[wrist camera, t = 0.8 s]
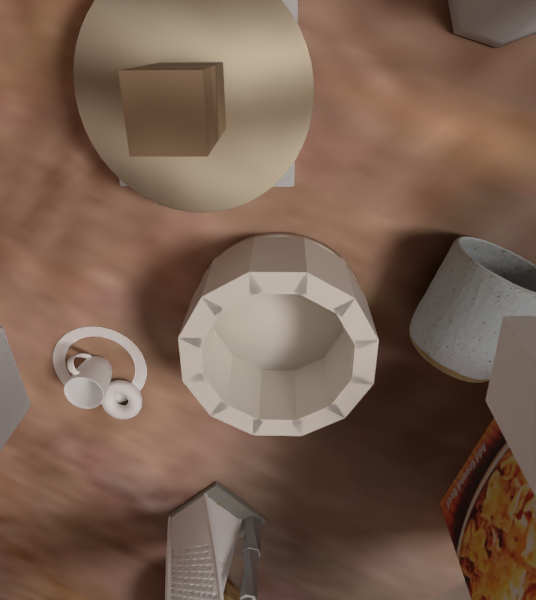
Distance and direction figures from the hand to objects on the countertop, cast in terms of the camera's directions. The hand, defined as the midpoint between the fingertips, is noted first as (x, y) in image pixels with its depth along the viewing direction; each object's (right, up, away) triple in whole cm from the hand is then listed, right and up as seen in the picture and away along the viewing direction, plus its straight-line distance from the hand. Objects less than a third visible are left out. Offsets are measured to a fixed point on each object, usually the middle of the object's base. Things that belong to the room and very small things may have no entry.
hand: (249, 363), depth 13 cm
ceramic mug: (+17, +3, +25) cm, 30 cm away
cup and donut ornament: (-15, -6, +31) cm, 35 cm away
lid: (-4, +15, +18) cm, 24 cm away
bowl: (+1, +1, +26) cm, 26 cm away
